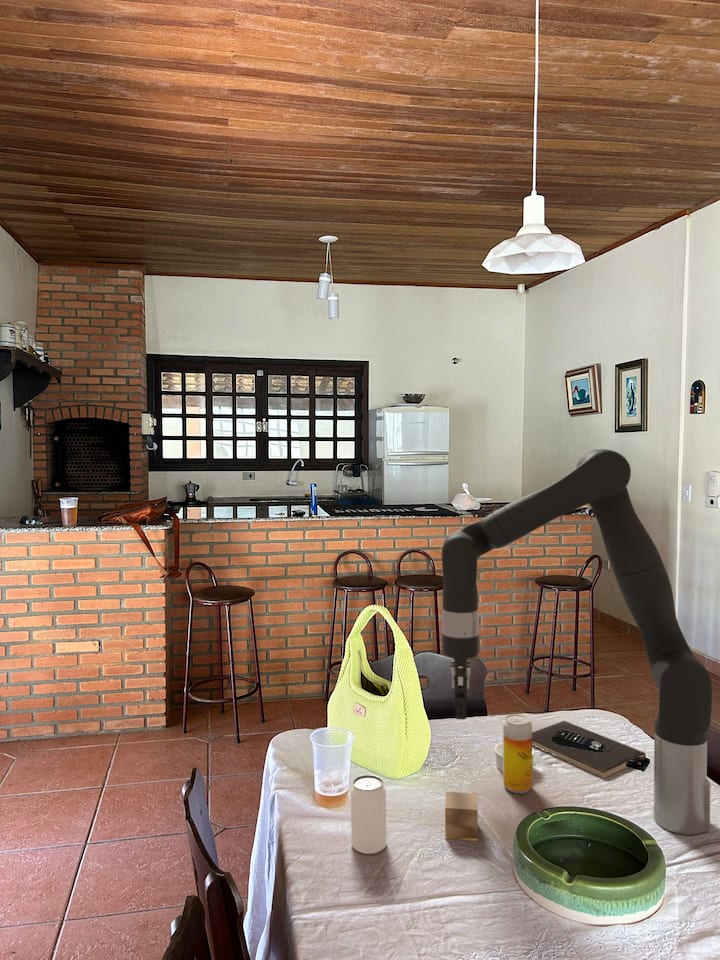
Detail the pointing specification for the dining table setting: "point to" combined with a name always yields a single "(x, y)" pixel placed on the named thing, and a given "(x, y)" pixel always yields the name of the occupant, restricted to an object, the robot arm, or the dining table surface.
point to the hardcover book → (585, 759)
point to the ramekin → (500, 756)
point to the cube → (461, 816)
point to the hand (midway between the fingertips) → (460, 714)
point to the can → (368, 814)
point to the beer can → (517, 753)
